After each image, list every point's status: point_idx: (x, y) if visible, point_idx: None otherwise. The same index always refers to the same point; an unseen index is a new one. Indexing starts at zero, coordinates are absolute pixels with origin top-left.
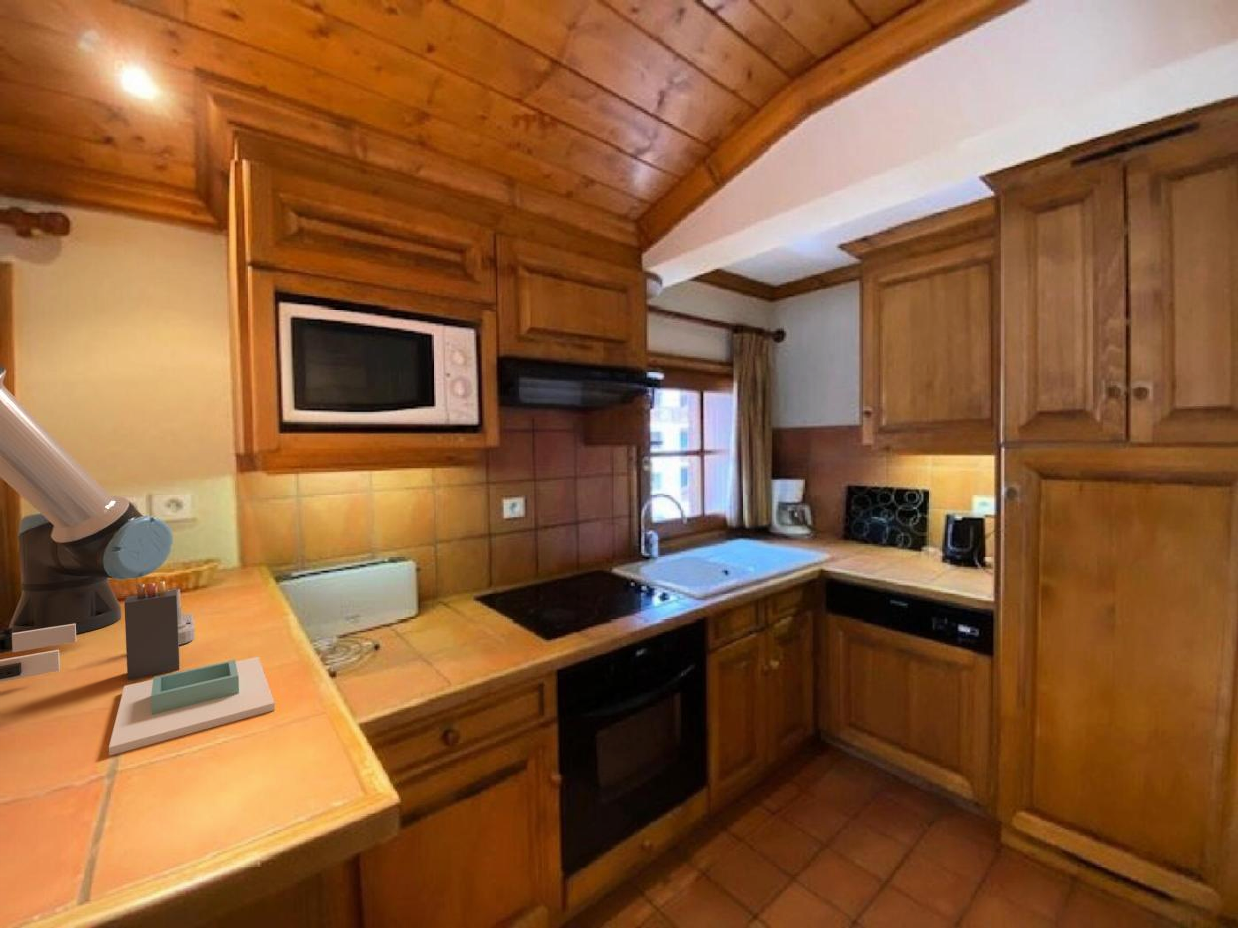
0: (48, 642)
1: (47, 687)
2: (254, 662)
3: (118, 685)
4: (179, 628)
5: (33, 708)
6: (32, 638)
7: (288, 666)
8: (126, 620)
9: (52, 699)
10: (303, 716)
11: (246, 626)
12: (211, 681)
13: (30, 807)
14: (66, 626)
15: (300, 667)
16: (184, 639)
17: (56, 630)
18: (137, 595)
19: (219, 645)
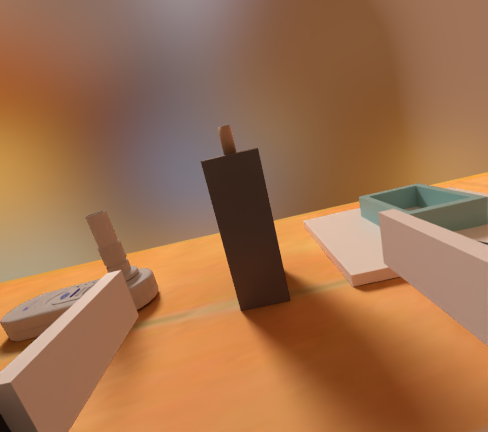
0: (107, 347)
1: (226, 429)
2: (321, 218)
3: (308, 304)
4: (138, 272)
5: (396, 400)
6: (75, 356)
7: (330, 213)
8: (265, 187)
9: (339, 380)
10: (466, 184)
11: (148, 263)
12: (434, 187)
13: None
14: (114, 279)
15: (338, 209)
16: (156, 282)
17: (103, 300)
18: (229, 148)
19: (204, 263)
